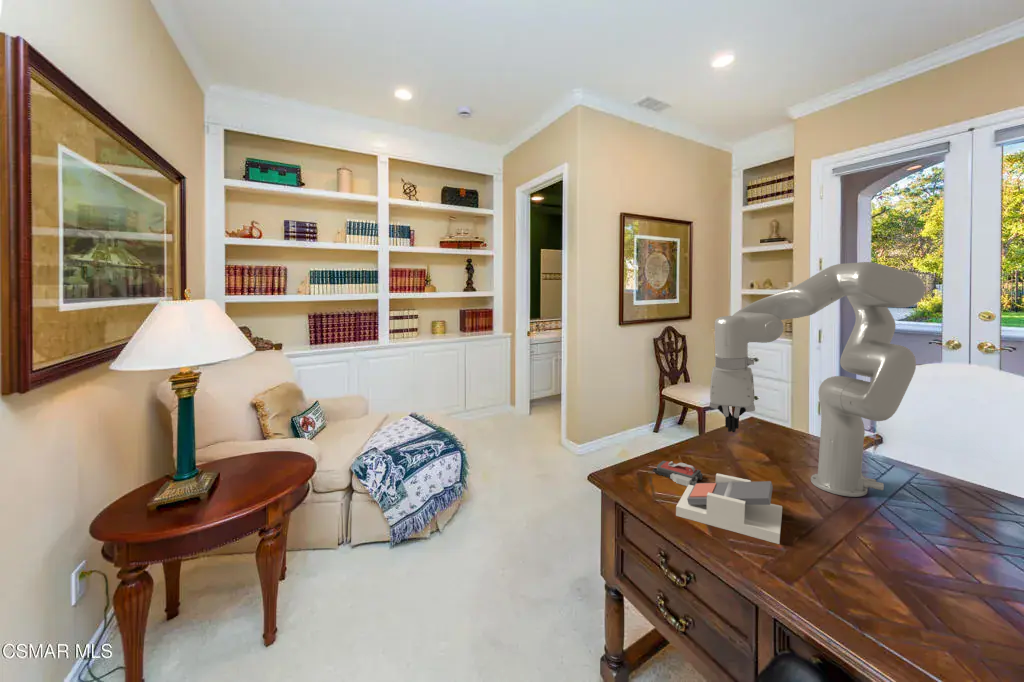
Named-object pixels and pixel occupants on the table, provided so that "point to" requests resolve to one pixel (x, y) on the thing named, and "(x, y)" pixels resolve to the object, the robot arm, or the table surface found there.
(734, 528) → the switch housing
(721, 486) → the rocker
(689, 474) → the walkie-talkie
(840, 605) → the table surface
